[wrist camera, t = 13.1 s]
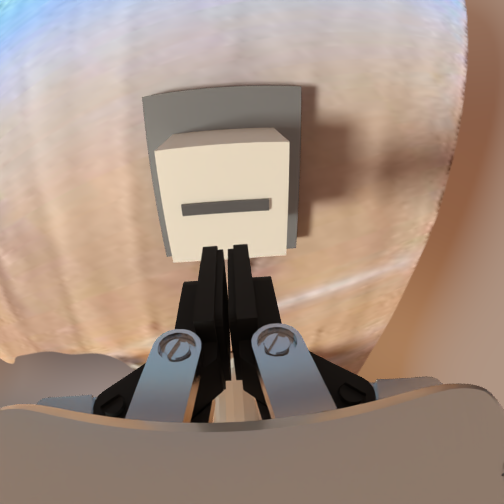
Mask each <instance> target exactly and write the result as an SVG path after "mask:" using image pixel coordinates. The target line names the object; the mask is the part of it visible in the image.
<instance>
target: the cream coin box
mask: <svg viewBox="0 0 504 504" xmlns="http://www.w3.org/2000/svg"><path fill="white" fill-rule="evenodd" d="M154 152H155V160H156V167H157V174H158V181H159V187H160V194H161V200H162V206H163V211H164V217H165V222H166V228H167V233H168V238H169V243H170V248H171V253H172V258H173V263H174V262H190V261H201V256H202V249H203V247H208V246H217V247H218V250H220V249H223V252H224V259H228V249H233V245H238V244H248V251H249V258H252V257H267V256H281V255H286V246H287V222H288V191H289V141H288V140H287V139H286V138H285V137H284V136H282V135H281V134H280V133H279V132H278V131H277V130H276V129H274V128H242V129H224V130H210V131H199V132H189V133H180V134H173V135H172V136H170V137H169V138H168V139H167V140H166V141H165V142H164V143H163V144H162V145H160V146H159V147H158V148H157V149H156V150H155V151H154Z"/></svg>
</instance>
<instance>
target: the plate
mask: <svg viewBox="0 0 504 504" xmlns="http://www.w3.org/2000/svg"><path fill="white" fill-rule="evenodd" d="M142 101H143V112H144V121H145V130H146V139H147V147H148V154H149V161H150V168H151V175H152V181H153V187H154V193H155V199H156V205H157V210H158V216H159V221H160V226H161V231H162V236H163V241H164V246H165V250H166V255H167V257H168V256H172V253H171V248H170V243H169V238H168V233H167V228H166V222H165V217H164V211H163V206H162V200H161V194H160V187H159V181H158V174H157V167H156V160H155V152H154V151H155V150H156V149H157V148H158V147H159V146H160V145H162V144H163V143H164V142H165V141H166V140H167V139H168V138H169V137H170V136H172V135H173V134H180V133H189V132H199V131H210V130H224V129H242V128H274V129H276V130H277V131H278V132H279V133H280V134H281V135H282V136H284V137H285V138H286V139H287V140H288V141H289V191H288V222H287V246H286V249H289V248H296V239H297V222H298V202H299V179H300V147H301V86H232V87H216V88H204V89H194V90H185V91H177V92H170V93H163V94H157V95H151V96H145V97H142Z"/></svg>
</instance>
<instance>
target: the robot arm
mask: <svg viewBox="0 0 504 504" xmlns="http://www.w3.org/2000/svg"><path fill="white" fill-rule="evenodd" d="M230 334H231V342H232V351H233V352H232V353H230ZM213 417H214V423H212V421H213ZM0 504H504V409H503V408H502V406H501V404H500V403H499V402H498V400H497V399H496V398H495V397H494V396H493V395H492V394H491V393H490V392H489V391H487V389H485V388H483V387H480V386H476V385H471V384H442V383H441V382H440V381H439V380H438V379H435V378H433V377H415V378H400V379H377V380H376V382H375V383H369V382H368V381H367V380H365V379H364V378H362V377H360V376H358V375H356V374H354V373H351V372H349V371H347V370H345V369H343V368H341V367H339V366H337V365H335V364H333V363H331V362H329V361H327V360H325V359H323V358H321V357H319V356H317V355H315V354H313V353H312V352H310V351H309V350H308V348H307V346H306V344H305V342H304V340H303V338H302V336H301V335H300V333H299V332H298V331H297V330H296V329H294V328H293V327H291V326H288V325H286V324H282V323H281V319H280V314H279V310H278V305H277V301H276V297H275V292H274V288H273V284H272V279H271V277H270V276H268V277H254V278H252V274H251V266H250V259H249V251H248V244H238V245H233V249H228V292H227V283H226V273H225V262H224V252H223V249H220V250H218V247H217V246H208V247H203V249H202V256H201V263H200V270H199V277H198V281H189V282H184V283H183V287H182V292H181V298H180V303H179V308H178V314H177V320H176V325H175V329H174V330H171V331H168V332H166V333H164V334H162V335H161V336H160V337H158V338H157V340H156V341H155V343H154V344H153V347H152V349H151V352H150V354H149V357H148V359H147V362H146V363H145V364H144V365H142V366H141V367H139V368H138V369H136V370H135V371H133V372H132V373H130V374H129V375H128V376H126V377H125V378H123V379H121V380H120V381H118V382H117V383H115V384H114V385H112V386H111V387H109V388H108V389H106V390H105V391H103V392H102V393H101V394H100V395H99V396H98V397H95V398H94V397H93V396H92V395H82V396H67V397H48V398H43V399H42V400H40V401H39V402H38V403H37V404H36V405H33V404H18V405H11V406H5V407H1V408H0Z"/></svg>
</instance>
